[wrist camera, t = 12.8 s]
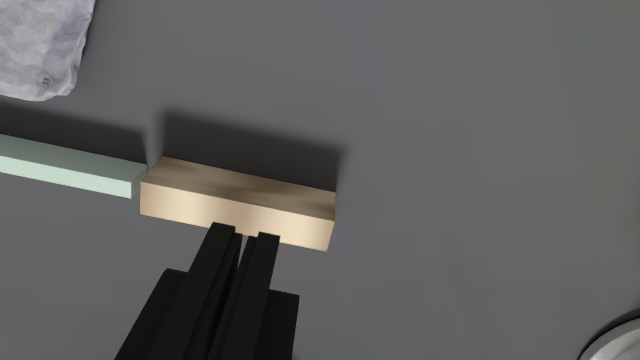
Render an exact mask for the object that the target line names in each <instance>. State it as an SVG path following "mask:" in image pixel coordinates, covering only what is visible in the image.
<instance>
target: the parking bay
mask: <svg viewBox="0 0 640 360" xmlns="http://www.w3.org/2000/svg"><path fill="white" fill-rule="evenodd" d="M0 172H4V173H9V174H13V175H18V176H23V177H28V178H33V179H38V180H43V181H48V182H53V183H58V184H63V185H68V186H73V187H77V188H82V189H87V190H92V191H97V192H102V193H107V194H112V195H117V196H122V197H127V198H132V197H133V195H134V194H135V193H136V192H137V191H138V189H139V188H140V187H141V181H142V179H143V178H144V177H145V176H146V175H147V164H142V163H137V162H132V161H127V160H123V159H118V158H113V157H108V156H104V155H99V154H94V153H89V152H84V151H80V150H75V149H70V148H65V147H60V146H56V145H51V144H46V143H41V142H36V141H32V140H27V139H22V138H17V137H12V136H8V135H3V134H0Z"/></svg>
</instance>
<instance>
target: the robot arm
mask: <svg viewBox="0 0 640 360" xmlns="http://www.w3.org/2000/svg"><path fill="white" fill-rule="evenodd" d="M235 230H236V227H235V226H232V225H227V224H223V223H218V222H213V223H212V224H211V226H210V228H209V230H208V232H207V234H206V236H205V239H204V241H203V243H202V245H201V247H200V249H199V251H198V253H197V255H196V257H195V259H194V261H193V263H192V265H191V267H190V269H189V271H188V272H183V271H178V270H174V269H169V268H167V269H166V270H165V271H164V272H163V274H162V276H161V277H160V279H159V281H158V283H157V284H156V286H155V288H154V290H153V291H152V293H151V295H150V297H149V299H148V300H147V302H146V304H145V306H144V307H143V309H142V311H141V313H140V315H139V316H138V318H137V320H136V322H135V323H134V325H133V327H132V329H131V331H130V332H129V334H128V336H127V338H126V339H125V341H124V343H123V345H122V347H121V348H120V350H119V352H118V354H117V355H116V357H115V359H114V360H291V358H292V350H293V343H294V335H295V328H296V321H297V313H298V306H299V295H295V294H290V293H286V292H281V291H276V290H271V289H269V287H270V282H271V278H272V273H273V269H274V264H275V259H276V255H277V250H278V246H279V241H280V236H279V235H274V234H270V233H265V232H260V231H259V233H258V236H257V237H255V236H250V235H249V237H248V240H247V243H246V246H245V249H244V252H243V255H242V258H241V261H240V264H239V267H238V262H239V255H240V249H241V243H242V237H243V234H241V233H236V232H235ZM237 268H238V270H237ZM580 360H640V318H638V319H635V320H632V321H629V322H627V323H624V324H622V325H620V326H618V327H616V328H614V329H612V330H610V331H609V332H607V333H605V334H604V335H602V336H601V337H600V338H598V339H597V340H596V341H595V342H593V343H592V344H591V345H590V346H589V347H588V349H587V350H586V351H585V352H584V353H583V354H582V356H581V358H580Z"/></svg>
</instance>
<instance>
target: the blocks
mask: <svg viewBox="0 0 640 360" xmlns="http://www.w3.org/2000/svg"><path fill="white" fill-rule="evenodd" d="M335 196H336V193H335V192H330V191H326V190H321V189H316V188H311V187H306V186H302V185H297V184H292V183H287V182H283V181H278V180H273V179H268V178H264V177H259V176H254V175H249V174H245V173H240V172H235V171H230V170H226V169H221V168H216V167H211V166H207V165H202V164H197V163H192V162H188V161H183V160H178V159H173V158H169V157H164V156H162V157H161V158H160V159H159V160H158V161H157V163H156V164H155V165H154V166H153V167H152V169H151V170H150V171H149V172H148V173H147V175H146V176H145V177H144V178H143V179H142V181H141V197H140V214H143V215H148V216H153V217H158V218H163V219H168V220H173V221H178V222H183V223H188V224H193V225H198V226H203V227H208V228H210V226H211V224H212V223H213V222H218V223H223V224H227V225H232V226H235V227H236V230H235V232H236V233H241V234H243V235H248V236H249V235H250V236H255V237H257V236H258V233H259V231H260V232H265V233H270V234H274V235H279V236H280V241H279V242H283V243H288V244H293V245H298V246H302V247H307V248H312V249H317V250H322V251H327V247H328V244H329V240H330V237H331V233H332V230H333V226H334V223H335Z"/></svg>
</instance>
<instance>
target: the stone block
mask: <svg viewBox="0 0 640 360" xmlns="http://www.w3.org/2000/svg"><path fill="white" fill-rule="evenodd" d="M95 1H96V0H0V94H1V95H6V96H10V97H15V98H20V99H24V100H30V101H45V100H48V99H50V98H52V97H54V96H56V95H65V96H67V95H68V94H70V91H71V90H72V89H73V88H74V86H75V84H76V83H77V76H78V71H79V68H80V61H81V56H82V49H83V47H84V45H85V42H86V37H87V29H88V27H89V24H90V22H91V20H92V15H93V9H94V4H95Z"/></svg>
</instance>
